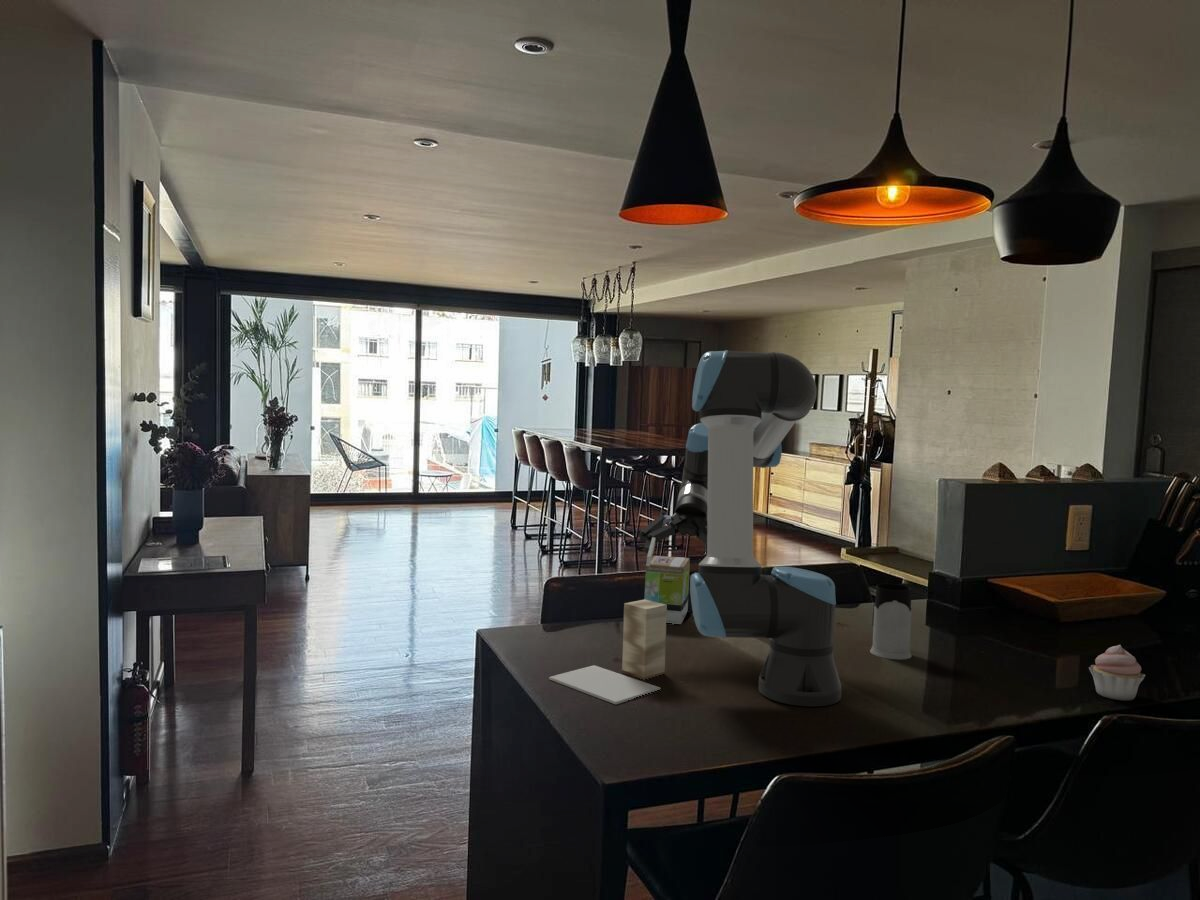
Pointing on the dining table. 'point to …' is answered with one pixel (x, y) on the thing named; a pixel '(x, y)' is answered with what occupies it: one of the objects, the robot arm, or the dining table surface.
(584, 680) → the mat
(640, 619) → the beech block
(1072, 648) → the dining table surface
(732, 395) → the robot arm
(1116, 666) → the cupcake
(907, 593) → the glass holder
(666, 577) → the tea box
